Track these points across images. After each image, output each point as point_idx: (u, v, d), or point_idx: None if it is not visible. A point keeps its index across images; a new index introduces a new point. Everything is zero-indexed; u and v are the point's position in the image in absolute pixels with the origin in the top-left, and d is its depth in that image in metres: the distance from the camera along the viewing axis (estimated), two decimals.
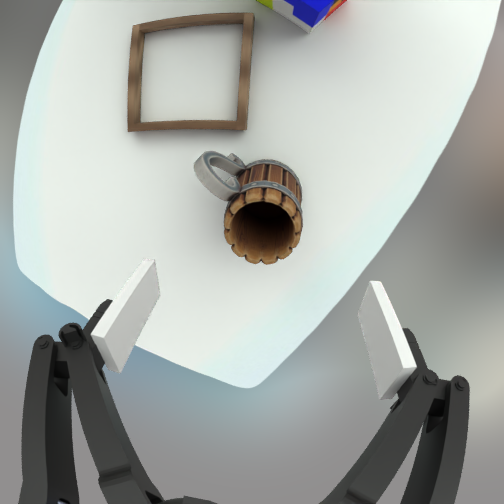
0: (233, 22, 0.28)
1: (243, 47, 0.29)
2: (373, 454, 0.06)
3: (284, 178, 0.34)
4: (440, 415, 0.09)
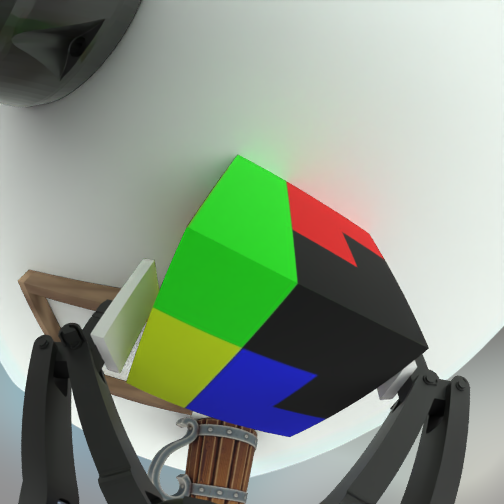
0: None
1: None
2: (373, 454, 0.06)
3: (233, 460, 0.28)
4: (441, 415, 0.09)
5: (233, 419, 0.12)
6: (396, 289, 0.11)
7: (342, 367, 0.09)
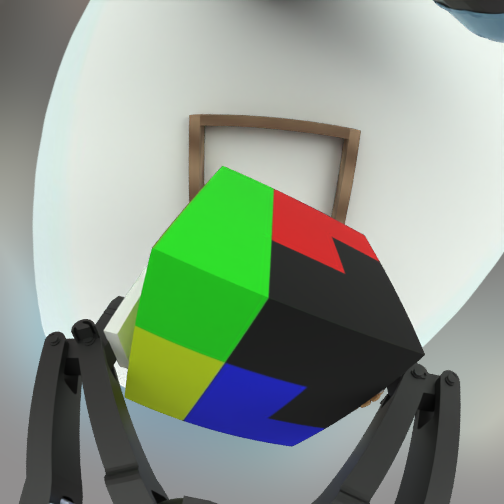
0: None
1: (344, 180, 0.28)
2: (364, 450, 0.07)
3: None
4: (431, 410, 0.09)
5: (231, 430, 0.12)
6: (390, 293, 0.11)
7: (332, 378, 0.09)
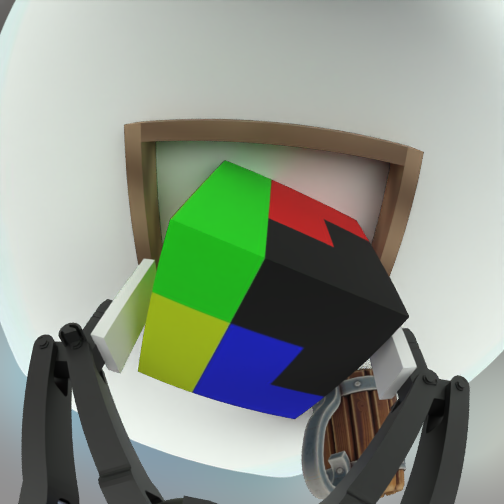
0: None
1: (390, 236, 0.16)
2: (373, 454, 0.06)
3: None
4: (440, 415, 0.09)
5: (237, 401, 0.14)
6: (377, 266, 0.13)
7: (325, 338, 0.11)
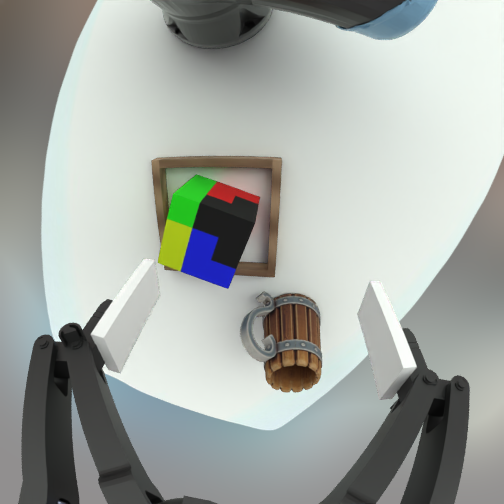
0: None
1: (272, 201, 0.37)
2: (373, 454, 0.06)
3: (308, 322, 0.42)
4: (440, 415, 0.09)
5: (199, 274, 0.35)
6: (252, 210, 0.34)
7: (224, 232, 0.32)
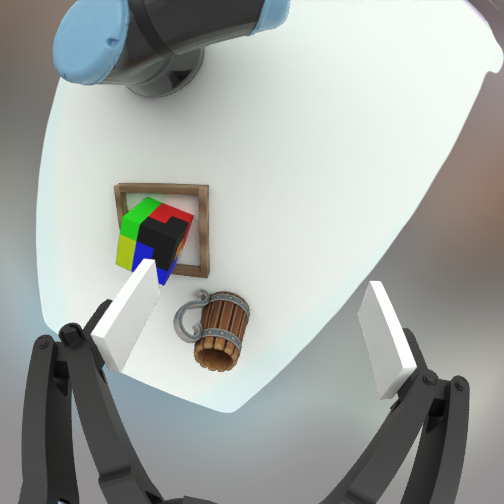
0: None
1: (200, 220, 0.48)
2: (373, 454, 0.06)
3: (232, 315, 0.53)
4: (440, 415, 0.09)
5: None
6: (180, 228, 0.44)
7: (157, 245, 0.42)
